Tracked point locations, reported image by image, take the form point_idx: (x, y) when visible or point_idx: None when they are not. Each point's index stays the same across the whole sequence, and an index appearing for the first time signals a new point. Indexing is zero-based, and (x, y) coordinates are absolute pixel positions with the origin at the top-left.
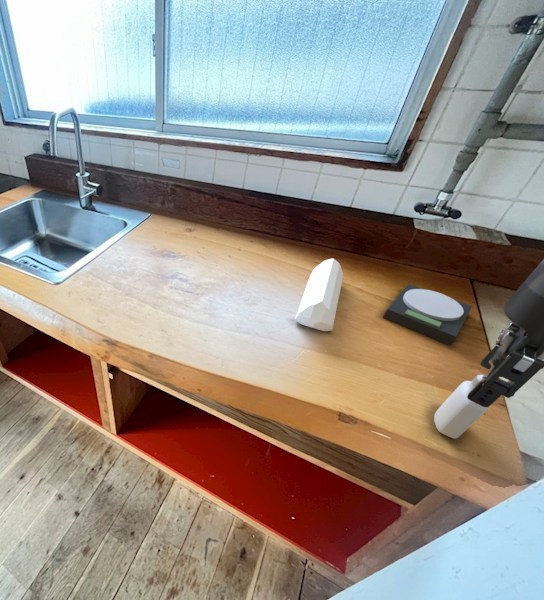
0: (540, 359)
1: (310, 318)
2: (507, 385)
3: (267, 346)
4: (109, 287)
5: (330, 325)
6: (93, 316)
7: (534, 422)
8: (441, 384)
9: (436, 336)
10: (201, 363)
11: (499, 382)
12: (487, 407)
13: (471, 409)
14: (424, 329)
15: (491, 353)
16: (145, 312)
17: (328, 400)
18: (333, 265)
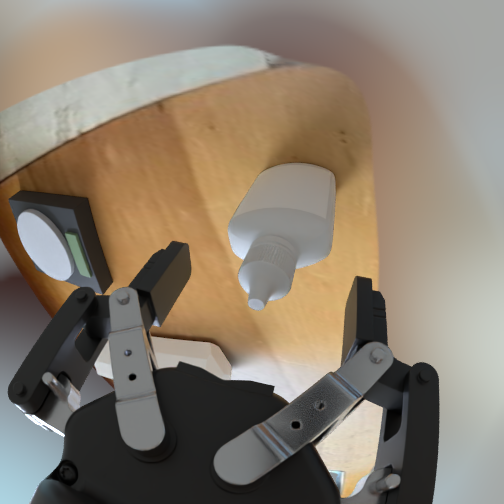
0: (292, 453)
1: None
2: (401, 395)
3: (307, 386)
4: None
5: (213, 357)
6: (365, 457)
7: (164, 58)
8: (191, 197)
9: (88, 221)
10: (380, 415)
11: (398, 405)
12: (311, 223)
13: (331, 241)
14: (91, 241)
15: (169, 307)
16: (335, 445)
17: None
18: (109, 375)
